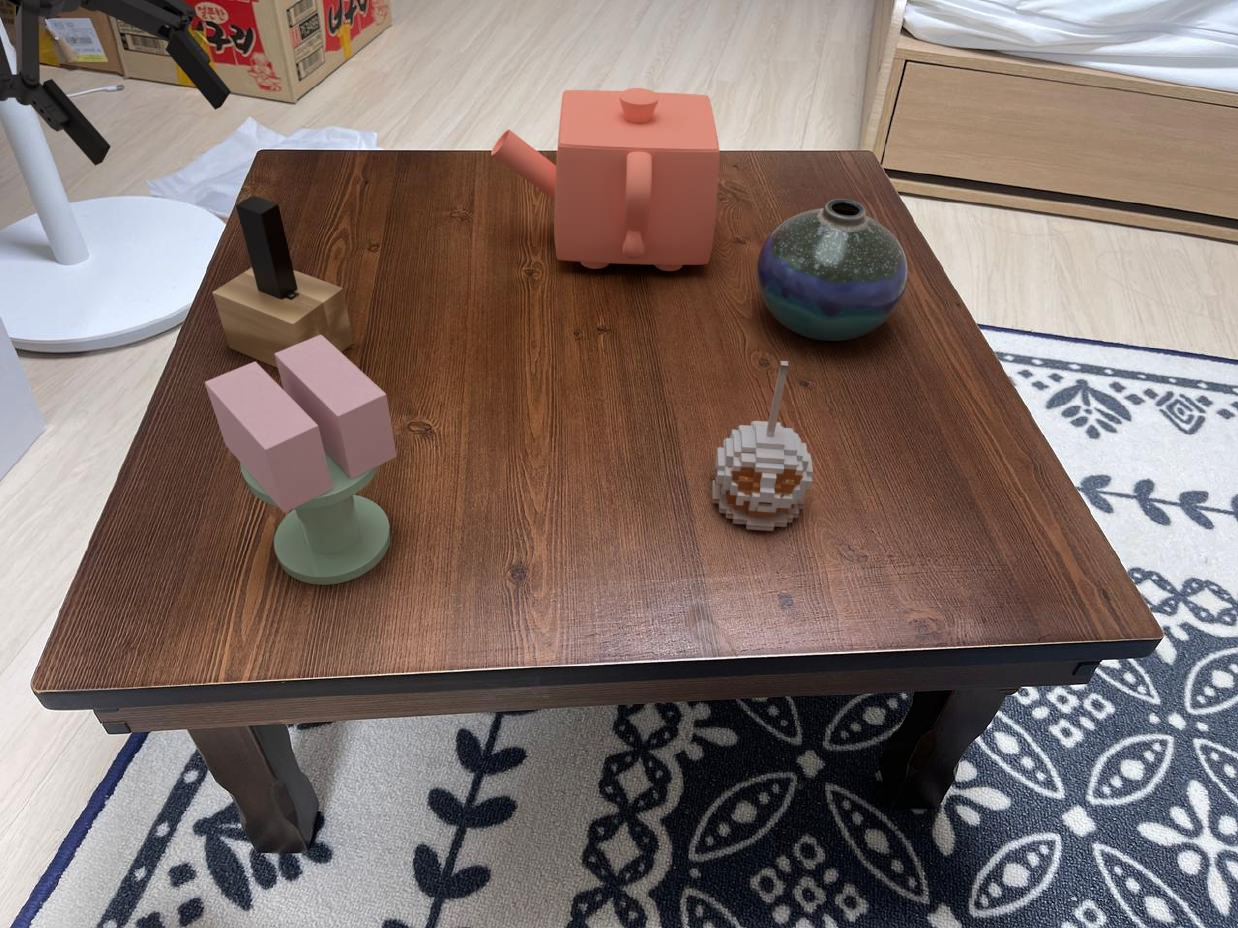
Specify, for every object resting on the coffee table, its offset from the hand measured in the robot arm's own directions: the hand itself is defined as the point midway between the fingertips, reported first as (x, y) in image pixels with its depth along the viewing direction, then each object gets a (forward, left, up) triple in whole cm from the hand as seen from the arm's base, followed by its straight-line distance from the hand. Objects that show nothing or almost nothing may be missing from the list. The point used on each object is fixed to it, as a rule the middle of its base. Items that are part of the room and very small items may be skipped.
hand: (166, 127), depth 83 cm
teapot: (+41, -13, -21) cm, 48 cm away
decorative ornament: (+23, -54, -21) cm, 62 cm away
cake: (-7, -35, -10) cm, 37 cm away
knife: (+3, -9, -20) cm, 22 cm away
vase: (+49, -40, -21) cm, 66 cm away
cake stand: (-7, -35, -20) cm, 41 cm away
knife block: (+3, -9, -20) cm, 22 cm away
